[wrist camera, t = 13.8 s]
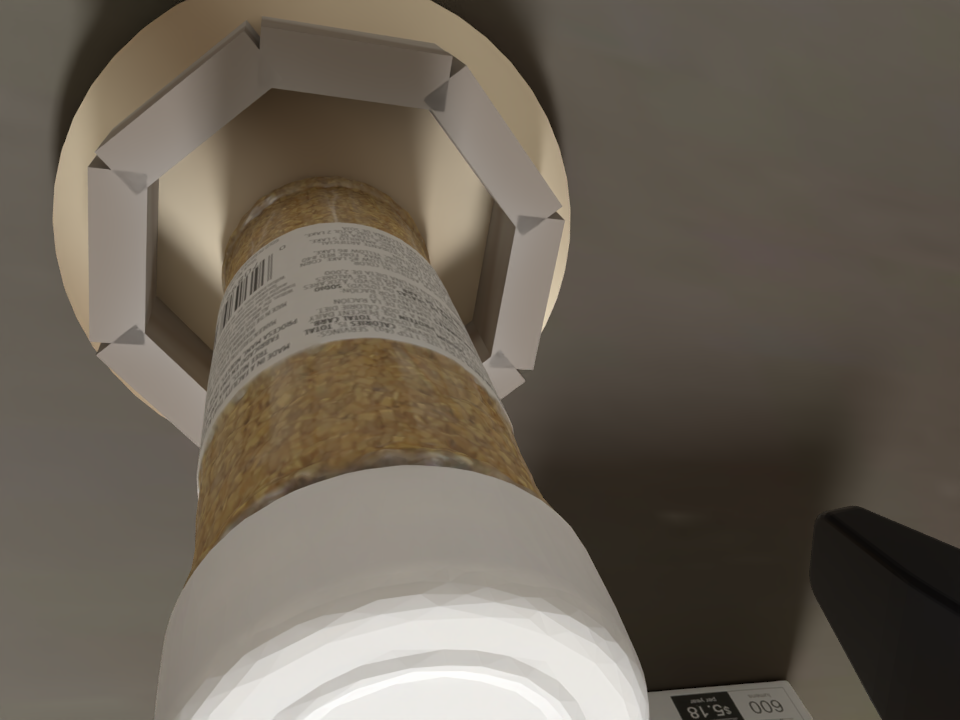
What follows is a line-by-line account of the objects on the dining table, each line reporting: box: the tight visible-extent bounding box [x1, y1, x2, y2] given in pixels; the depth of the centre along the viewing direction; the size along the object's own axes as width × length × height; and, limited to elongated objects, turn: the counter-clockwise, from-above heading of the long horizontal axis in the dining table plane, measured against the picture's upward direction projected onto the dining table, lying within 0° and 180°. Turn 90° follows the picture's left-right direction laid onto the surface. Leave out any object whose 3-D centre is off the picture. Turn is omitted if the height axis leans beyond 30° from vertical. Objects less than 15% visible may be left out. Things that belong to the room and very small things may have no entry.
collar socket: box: [53, 0, 570, 448], centre depth 19 cm, size 11×11×3 cm
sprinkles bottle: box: [154, 176, 649, 720], centre depth 14 cm, size 5×5×13 cm
